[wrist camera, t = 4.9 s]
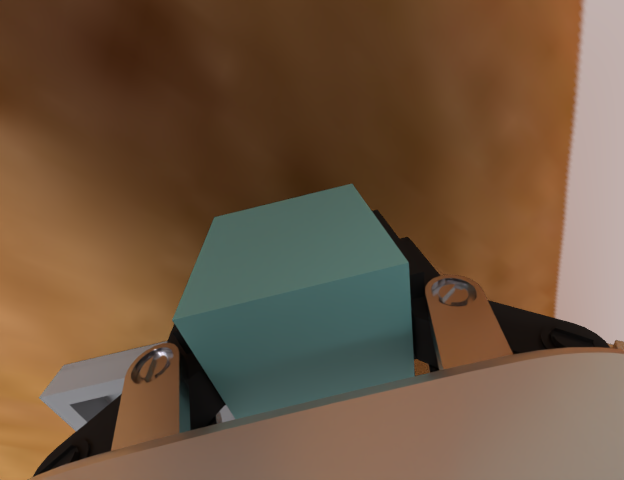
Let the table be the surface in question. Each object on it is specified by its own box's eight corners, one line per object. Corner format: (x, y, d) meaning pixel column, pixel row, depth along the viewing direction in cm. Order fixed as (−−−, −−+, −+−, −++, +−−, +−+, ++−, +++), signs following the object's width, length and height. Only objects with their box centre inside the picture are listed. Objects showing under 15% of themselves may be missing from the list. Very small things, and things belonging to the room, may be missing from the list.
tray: (63, 365, 17) (38, 397, 15) (280, 314, 17) (281, 341, 15) (164, 471, 23) (155, 503, 22) (324, 435, 23) (328, 464, 21)
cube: (214, 217, 10) (172, 320, 6) (352, 183, 10) (408, 262, 6) (257, 317, 13) (248, 440, 9) (367, 290, 13) (415, 400, 9)
